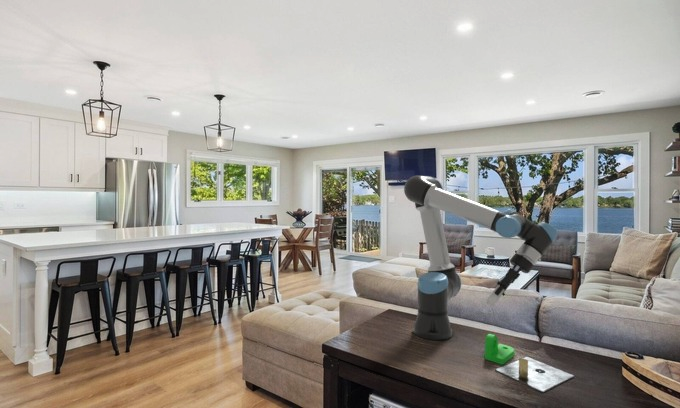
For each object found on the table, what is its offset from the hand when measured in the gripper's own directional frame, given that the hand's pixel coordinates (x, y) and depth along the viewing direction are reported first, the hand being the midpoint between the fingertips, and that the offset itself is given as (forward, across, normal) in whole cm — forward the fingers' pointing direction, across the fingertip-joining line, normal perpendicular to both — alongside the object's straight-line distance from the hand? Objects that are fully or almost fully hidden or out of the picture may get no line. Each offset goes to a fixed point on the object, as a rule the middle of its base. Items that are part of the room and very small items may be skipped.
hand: (489, 304), depth 133 cm
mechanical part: (+12, -1, -13) cm, 18 cm away
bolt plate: (+10, -11, -22) cm, 27 cm away
